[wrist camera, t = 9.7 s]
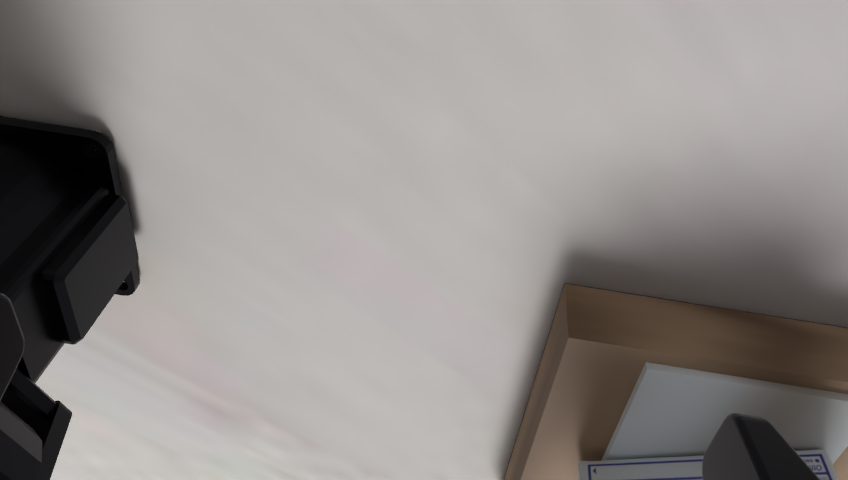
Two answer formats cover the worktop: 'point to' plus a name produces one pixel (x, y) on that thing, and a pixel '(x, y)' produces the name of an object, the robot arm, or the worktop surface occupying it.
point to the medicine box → (681, 467)
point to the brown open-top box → (675, 382)
